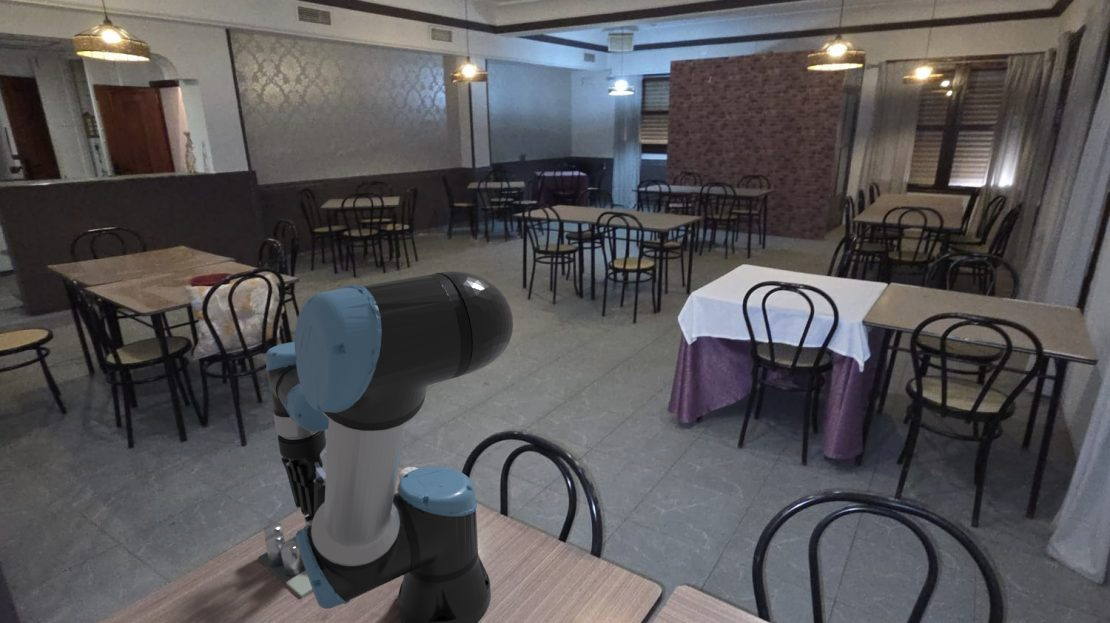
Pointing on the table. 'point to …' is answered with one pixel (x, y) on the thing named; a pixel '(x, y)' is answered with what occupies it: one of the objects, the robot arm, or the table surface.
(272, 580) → the table surface
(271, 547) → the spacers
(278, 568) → the mat
